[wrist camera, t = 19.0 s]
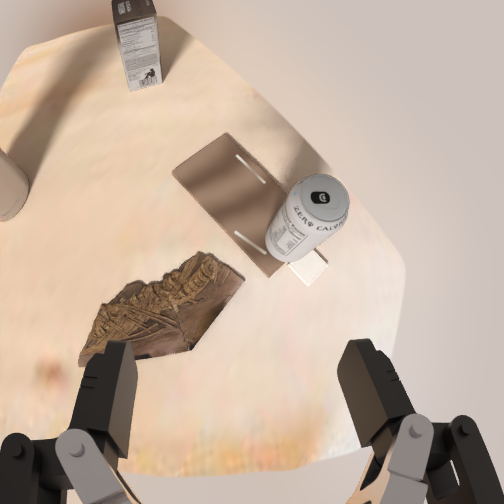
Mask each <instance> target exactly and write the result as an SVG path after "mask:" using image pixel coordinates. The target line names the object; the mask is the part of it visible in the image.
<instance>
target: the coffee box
mask: <svg viewBox="0 0 504 504" xmlns="http://www.w3.org/2000/svg"><path fill="white" fill-rule="evenodd" d="M112 11H113V19H114V25H115V30H116V35H117V39H118V44H119V49H120V53H121V57H122V62H123V66H124V70H125V74H126V78H127V82H128V86H129V90H130V92H132V91H135V90H138V89H142V88H146V87H149V86H153V85H157V84H161V83H163V78H162V70H161V60H160V49H159V38H158V27H157V16H156V10H155V7H154V5H153V2H152V0H112Z"/></svg>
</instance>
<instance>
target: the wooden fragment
mask: <svg viewBox="0 0 504 504" xmlns="http://www.w3.org/2000/svg"><path fill="white" fill-rule="evenodd" d="M244 281H245V280H243V279H242V278H241V277H240V276H238V275H237V274H236V273H235V272H234V271H233V270H232V269H231V268H230V267H229V266H227V265H225V264H220V263H218V262H217V261H215V260H214V259H213V258H212V257H211V256H203V255H201V254H199V253H196V256H194V257H191V259H190V260H189V261H187V262H185V263H184V264H182V265H181V266H180V267H179V270H177V271H175V272H172V273H170V274H168V275H164V276H163V282H162V283H157V284H156V283H152V284H150V285H148V286H145V285H142V284H140V283H138V282H137V283H133V284H130V285H128V286H125V287H124V289H123V290H122V292H121V293H119V294H118V296H117V297H115V298H114V300H113V301H111V302H110V303H109V304H107V305H104V304H103V305H101V306H100V310H99V312H98V315H97V317H96V319H95V320H94V323H93V326H92V330H91V332H90V334H89V336H88V339H87V342H86V344H85V347H84V348H83V349H82V351H81V353H80V356H79V360H78V364H79V367H86V364H87V362H88V361H89V360H90V359H91V358H92V356H93V355H94V354H95V353H102V354H104V351H105V348H106V345H107V342H108V340H121V341H129V342H130V344H131V348H132V351H133V355H134V358H135V360H139V359H147V358H153V357H159V356H165V355H169V354H172V353H173V354H174V353H175V354H176V353H181V352H186V351H189V350H192V349H193V348H194V347H195V345H196V343H197V342H198V341H199V340H200V338H201V337H202V335H203V334H204V333H205V332H206V331H207V329H208V328H209V327H210V325H211V324H212V322H213V321H214V320H215V319H216V317H217V316H218V315H219V313H220V312H221V311H222V310H223V308H224V307H225V306H226V304H227V303H228V302H229V301H230V299H231V297H233V295H234V294H235V293H236V291H237V290H238V289H239V287H240V286H241V284H242V283H243V282H244ZM187 345H188V347H189V348H187ZM188 349H189V350H188Z"/></svg>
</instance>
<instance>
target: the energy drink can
mask: <svg viewBox="0 0 504 504" xmlns="http://www.w3.org/2000/svg"><path fill="white" fill-rule="evenodd" d="M349 203H350V202H349V196H348V193H347V191H346V189H345V187H344V186H343V184H342V183H341V182H340V181H338V180H337V179H336V178H334V177H332V176H329V175H326V174H315V175H312V176H310V177H306V178H303V179H301V180H299V181H298V182H297V183H296V184H295V185H294V186H293V188H292V189H291V191H290V192H289V194H288V196H287V197H286V199H285V201H284V202H283V204H282V206H281V207H280V209H279V211H278V212H277V214H276V216H275V217H274V219H273V221H272V222H271V224H270V226H269V228H268V229H267V232H266V236H265V242H266V246H267V249H268V251H269V252H270V254H271V255H272V256H273V257H275V258H276V259H278V260H280V261H282V262H290V263H291V262H295V261H298V260H300V259H301V258H303V257H304V256H305V255H307V254H308V253H309V252H311V251H312V250H313V249H315V248H316V247H317V246H318V245H320V244H321V243H322V242H324V241H325V240H326V239H327V238H329V237H330V236H331V235H333V234H334V233H335V232H336V231H338V230H339V229H340V228H341V227H342V226H343V225H344V223H345V221H346V219H347V215H348V209H349Z"/></svg>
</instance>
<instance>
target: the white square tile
mask: <svg viewBox="0 0 504 504" xmlns="http://www.w3.org/2000/svg"><path fill="white" fill-rule="evenodd" d="M288 266H289V267H290V268H291V269H292V270H293V271H294V272H295V273H296V274H297V275H298V276H299V277H300V279H301V280H302V281H303V282H304V283H305V284H306V285H307V286H310V285H311V284H312V283H313V281H314V280H315V279H316V278H317V277H318V276H319V275H320V274H321V273H322V272H323V271H324V270H325V269H326V268H327V267H328V265H327V264H326V262H325V261H324V260H323V259H322V258H321V257H320V256H319V255H318V254H317V253H316V252H315V251H314V250H312V251H311V252H309V253H308V254H307V255H305V256H304V257H303V258H301V259H300V260H298V261H295V262H291V263H289V264H288Z"/></svg>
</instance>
